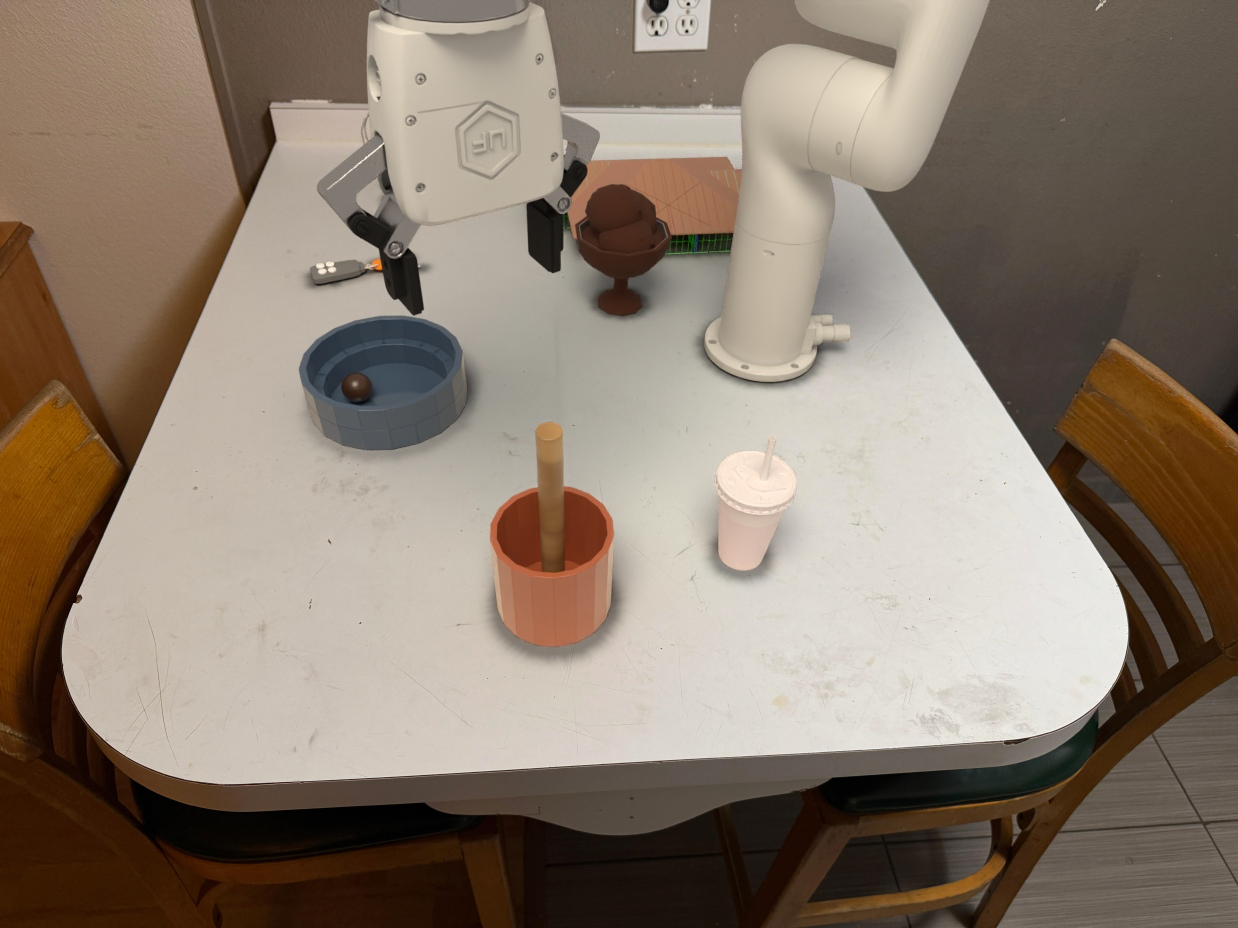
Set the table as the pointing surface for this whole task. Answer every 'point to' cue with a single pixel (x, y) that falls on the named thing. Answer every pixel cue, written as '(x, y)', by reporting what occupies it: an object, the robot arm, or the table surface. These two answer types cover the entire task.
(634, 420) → the table surface
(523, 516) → the utensil pot
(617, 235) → the ice cream bowl
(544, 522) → the stirring stick
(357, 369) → the mixing bowl
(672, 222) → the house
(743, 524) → the smoothie
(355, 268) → the key chain
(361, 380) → the bead
